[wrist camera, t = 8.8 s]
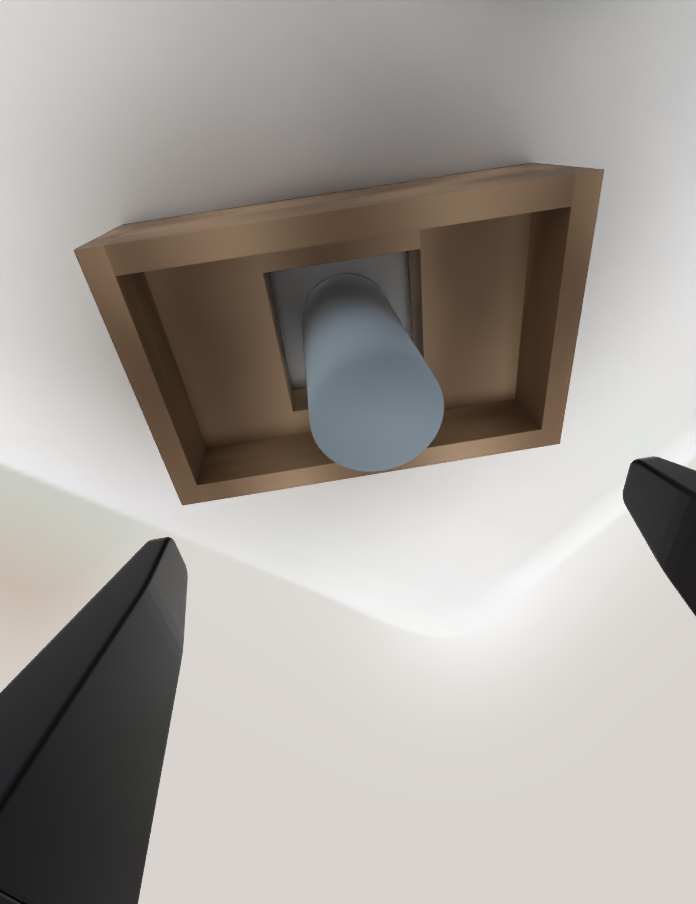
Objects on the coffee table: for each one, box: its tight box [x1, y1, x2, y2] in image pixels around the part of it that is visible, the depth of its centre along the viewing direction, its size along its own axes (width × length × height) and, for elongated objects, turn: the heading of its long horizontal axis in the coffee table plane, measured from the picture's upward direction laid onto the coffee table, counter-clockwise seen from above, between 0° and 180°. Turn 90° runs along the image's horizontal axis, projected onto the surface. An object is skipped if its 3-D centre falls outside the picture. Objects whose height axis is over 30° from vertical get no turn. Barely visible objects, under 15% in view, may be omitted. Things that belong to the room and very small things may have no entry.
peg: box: [302, 274, 444, 472], centre depth 16 cm, size 4×4×8 cm
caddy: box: [74, 163, 604, 505], centre depth 17 cm, size 15×9×4 cm, turn 97°
